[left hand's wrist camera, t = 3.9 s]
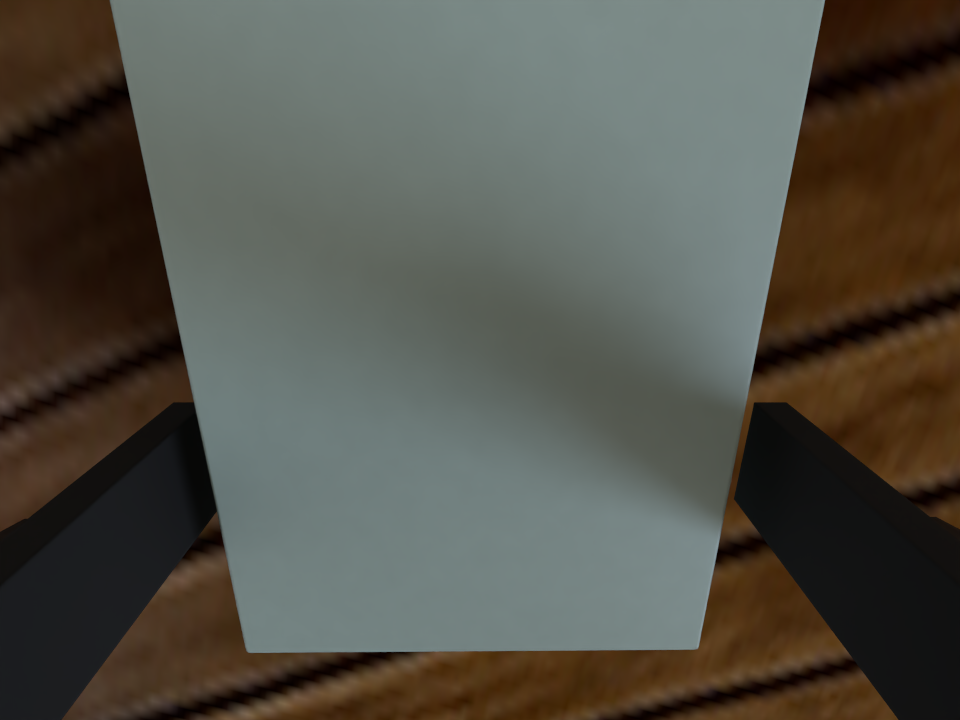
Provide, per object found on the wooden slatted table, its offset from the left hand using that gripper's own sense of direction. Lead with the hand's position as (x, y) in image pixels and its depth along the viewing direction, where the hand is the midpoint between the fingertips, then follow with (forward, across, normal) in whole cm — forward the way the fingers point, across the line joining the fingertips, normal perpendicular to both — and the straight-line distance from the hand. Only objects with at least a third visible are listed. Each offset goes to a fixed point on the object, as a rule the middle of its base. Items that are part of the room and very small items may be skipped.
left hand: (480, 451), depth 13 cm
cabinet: (+7, 0, -5) cm, 9 cm away
